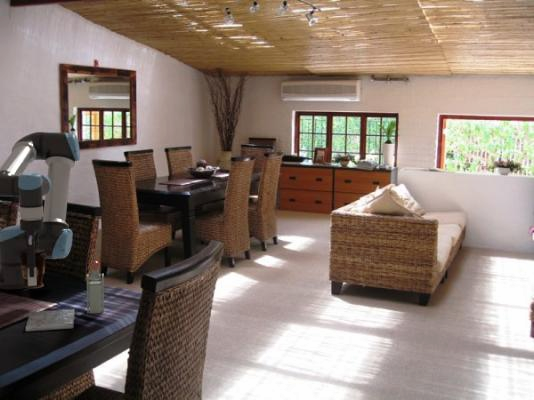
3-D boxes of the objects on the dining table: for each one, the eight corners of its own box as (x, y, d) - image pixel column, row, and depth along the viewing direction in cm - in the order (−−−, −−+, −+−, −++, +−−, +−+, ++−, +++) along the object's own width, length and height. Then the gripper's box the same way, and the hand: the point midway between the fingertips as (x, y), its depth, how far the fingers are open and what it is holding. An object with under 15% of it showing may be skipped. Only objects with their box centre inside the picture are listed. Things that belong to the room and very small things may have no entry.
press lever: (89, 283, 200) (89, 275, 202) (100, 282, 201) (100, 274, 203) (89, 268, 188) (89, 260, 189) (100, 268, 189) (100, 259, 190)
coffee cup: (37, 291, 200) (35, 254, 198) (15, 288, 202) (14, 252, 200) (51, 283, 209) (50, 248, 206) (30, 281, 210) (29, 246, 208)
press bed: (30, 316, 195) (30, 311, 195) (74, 313, 199) (74, 309, 199) (25, 331, 182) (25, 326, 182) (72, 328, 186) (72, 323, 186)
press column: (87, 309, 203) (86, 273, 201) (103, 308, 205) (103, 273, 203) (87, 313, 199) (86, 277, 198) (104, 312, 201) (103, 276, 199)
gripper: (23, 212, 210) (25, 274, 213) (16, 224, 190) (18, 291, 194) (45, 212, 212) (47, 273, 216) (40, 224, 193) (42, 290, 196)
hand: (33, 281), depth 205 cm, fingers closed on coffee cup, 7 cm apart
